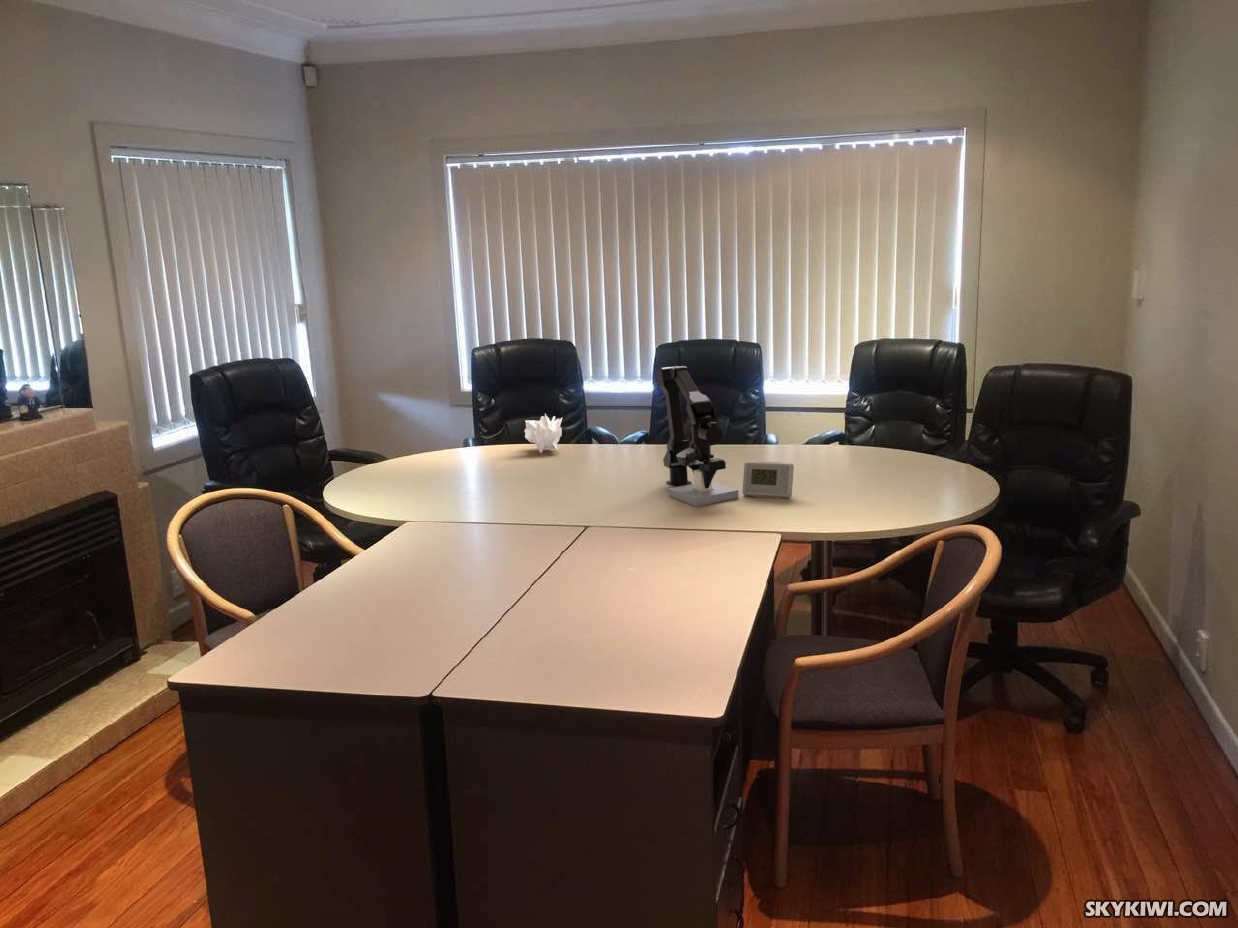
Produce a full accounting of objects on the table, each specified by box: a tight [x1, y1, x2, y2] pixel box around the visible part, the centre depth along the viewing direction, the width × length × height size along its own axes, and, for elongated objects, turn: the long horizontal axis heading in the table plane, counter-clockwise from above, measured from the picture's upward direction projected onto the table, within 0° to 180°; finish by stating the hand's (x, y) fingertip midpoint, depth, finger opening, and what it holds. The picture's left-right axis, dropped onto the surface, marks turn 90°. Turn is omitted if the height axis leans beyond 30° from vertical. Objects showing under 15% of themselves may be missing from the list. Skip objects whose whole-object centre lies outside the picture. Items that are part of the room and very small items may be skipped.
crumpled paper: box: [524, 413, 563, 454], centre depth 408 cm, size 20×17×15 cm
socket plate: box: [668, 480, 739, 507], centre depth 328 cm, size 16×16×2 cm
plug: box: [693, 464, 713, 492], centre depth 327 cm, size 4×4×9 cm
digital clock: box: [741, 460, 795, 499], centre depth 325 cm, size 16×9×11 cm, turn 55°
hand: (703, 486), depth 328 cm, fingers closed on plug, 4 cm apart
